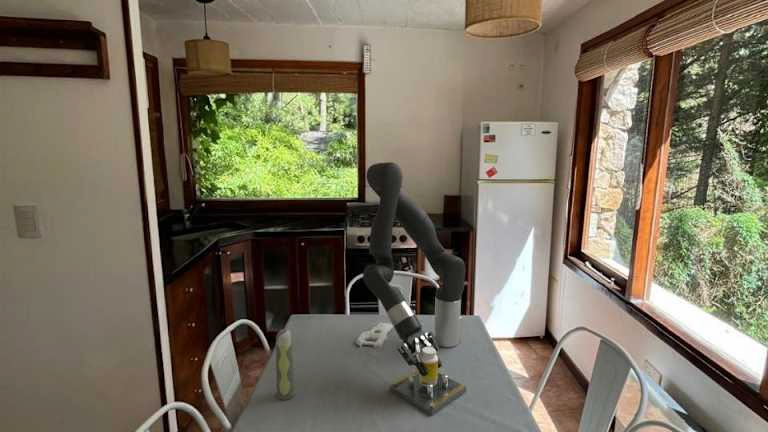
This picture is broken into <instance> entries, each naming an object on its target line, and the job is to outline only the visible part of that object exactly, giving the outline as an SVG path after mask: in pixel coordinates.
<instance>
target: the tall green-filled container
mask: <svg viewBox="0 0 768 432" xmlns="http://www.w3.org/2000/svg"><path fill="white" fill-rule="evenodd" d="M275 365H276V367H275V368H276V370H275V371H276V396H277V398H278V399H280V400H285V401H286V400H289V399H291V398H292V397H294V395H295V384H294V383H295V382H294V379H295V378H294V359H293V342H292V333H291V331H290V330H289V329H285V328H283V329H280V330H279V331H278V332H277V334H276V336H275Z"/></svg>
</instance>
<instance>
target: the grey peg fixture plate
mask: <svg viewBox="0 0 768 432" xmlns="http://www.w3.org/2000/svg"><path fill="white" fill-rule="evenodd" d="M389 391H390V392H392V393H394V394H395V395H397V396H398V397H400V398H402V399H404V400H405V401H407V402H409V403H411V405H413V406H415V407H416V408H418V409H420V410H422V411H423V412H425V413H426V414H428V415H430V416H433V415H435V414H436V413H438V412H439V411H441V410H442V409H444V408H445V407H446V406H448V405H450V404H451V403H452V402H453V401H455V400H456V399H458V398H460V396H462V395H463V394H465V393H466V392H467V386H466V385H463V384H461V383H460V382H457V381H456V380H453V379H451V378H450V377H449V375H448V374H446V373H443V374H442V373H439V372H438V377H437V383H436V384H435V385H434V386H433V384H430V383H429V384H427V386H424V385H422V384H420V382H419V371H418V369H417V368H416V369H415V370H413V371H411V372H410V373H408V374H406V375H404V376H402V377H401V378H399V379H397V380H395V381H394V382H392V384H390V386H389Z"/></svg>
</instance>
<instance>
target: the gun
mask: <svg viewBox="0 0 768 432" xmlns="http://www.w3.org/2000/svg"><path fill="white" fill-rule="evenodd" d="M392 329H394V327H393V325H392V323H389V322H388V323H386V322H381V321H380V322H378V324H377V326H373V327H372V328H371V329H369V330H368V331H362V332H361V333H360V334H359V336H358V337H357V339H356V340H355V344H356V345H357V346H359V347H360V348H362V347H363V345H364V346H373V348H374V349H376V348H381V347H382V346H383V344H384V343H385V341H386V340H388V334H389V333H390V331H391V330H392Z"/></svg>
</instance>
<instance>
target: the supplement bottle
mask: <svg viewBox="0 0 768 432" xmlns="http://www.w3.org/2000/svg"><path fill="white" fill-rule="evenodd" d="M434 348H435V347H434ZM434 348H432V347H427V346H426V347H425V348H423V349H422V350H421V353H420V357H421V362H423V364H424V365H425V367H426V369H427V371H428V375H426V376H424V377H423V376H422V375H421V374H420V373H419V382H420V384H422V385H424V386H427V384H429V383H430V384H433V386H434V385H435V384H436V383H437V377H438V373H439V372H438V371H439V368H438V357H439V356H438V354H437V355H436V350H435V349H434Z"/></svg>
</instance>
